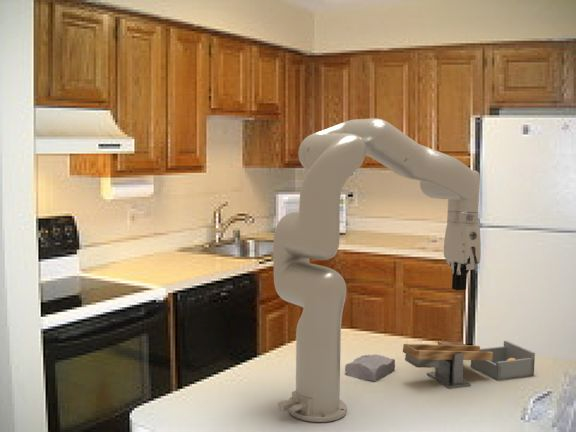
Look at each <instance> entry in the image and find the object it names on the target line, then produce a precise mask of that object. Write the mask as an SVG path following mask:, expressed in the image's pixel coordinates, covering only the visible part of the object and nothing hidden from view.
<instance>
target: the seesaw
mask: <svg viewBox="0 0 576 432" xmlns="http://www.w3.org/2000/svg"><path fill="white" fill-rule="evenodd" d="M442 344H444V345H442ZM402 347H403V348H402V353H403V354H405V356H404V360H405V362H407V363H409V364H410V365H412V366H414V367H415V368H420V369H421V368H432V369H435V368H439V361H440V360H453V354H458V353H462V354H463V361H471V360H487V361H492V357H493V352H481V351H480V349H481V346H480V345H467V344H466V343H463V342H461V341H442V340H441V341H437V344H427V343H426V344H425V343H424V344H422V343H403V346H402Z"/></svg>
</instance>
